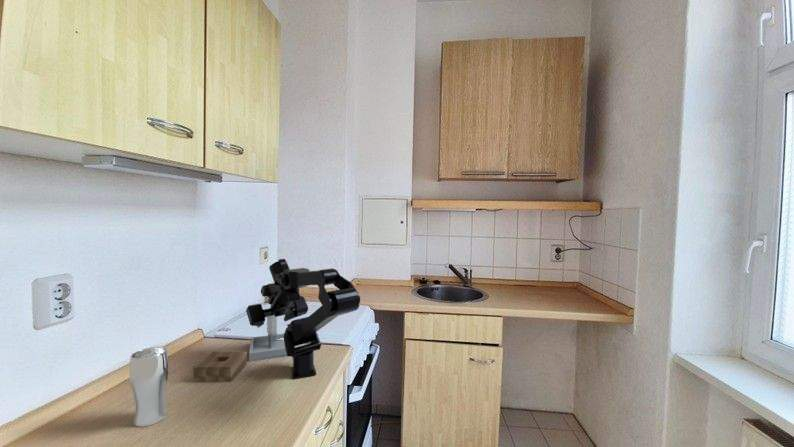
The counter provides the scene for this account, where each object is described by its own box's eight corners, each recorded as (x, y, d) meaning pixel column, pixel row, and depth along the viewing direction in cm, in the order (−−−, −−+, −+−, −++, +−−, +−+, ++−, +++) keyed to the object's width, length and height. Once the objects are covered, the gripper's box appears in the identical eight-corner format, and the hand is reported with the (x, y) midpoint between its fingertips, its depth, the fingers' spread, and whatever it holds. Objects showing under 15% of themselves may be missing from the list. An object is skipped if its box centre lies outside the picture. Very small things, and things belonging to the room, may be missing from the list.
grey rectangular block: (276, 347, 112) (276, 315, 111) (272, 349, 111) (271, 316, 110) (271, 344, 115) (271, 312, 114) (267, 345, 114) (266, 313, 113)
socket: (246, 364, 101) (246, 351, 101) (230, 381, 91) (230, 367, 91) (213, 364, 101) (213, 351, 101) (193, 381, 91) (193, 367, 91)
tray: (296, 354, 108) (296, 347, 108) (249, 361, 103) (249, 353, 103) (293, 339, 121) (293, 332, 121) (251, 344, 116) (251, 337, 116)
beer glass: (162, 425, 72) (161, 357, 72) (124, 431, 70) (122, 361, 70) (174, 407, 79) (172, 344, 78) (139, 411, 77) (137, 348, 76)
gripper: (304, 272, 114) (290, 298, 123) (247, 280, 102) (236, 308, 110) (315, 300, 109) (300, 324, 117) (257, 311, 96) (244, 338, 105)
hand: (271, 323), depth 113 cm, fingers open, 9 cm apart
